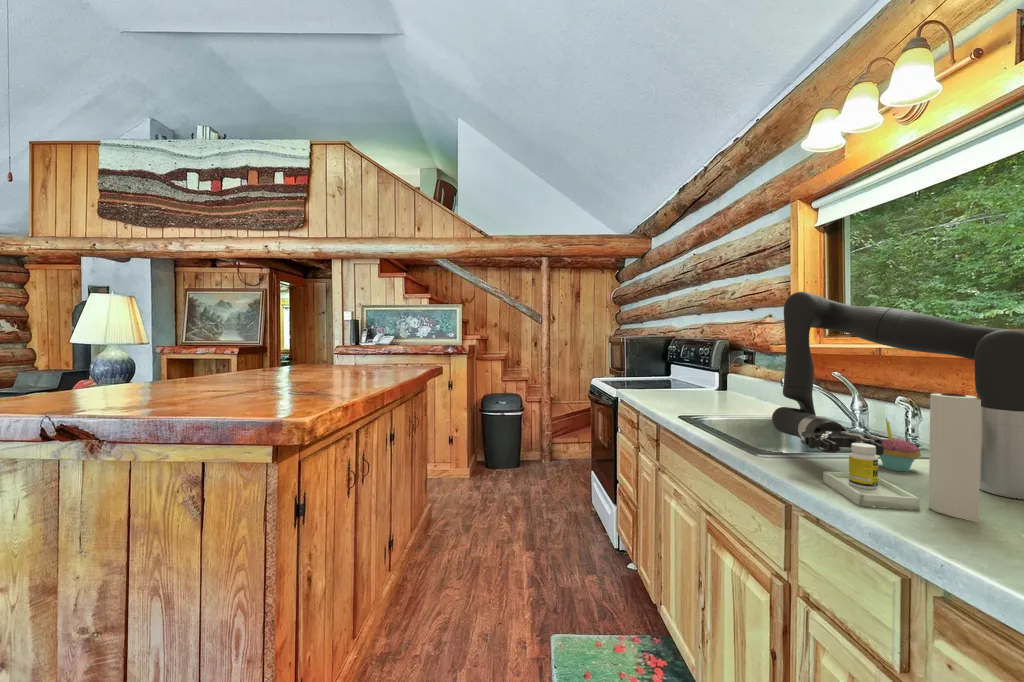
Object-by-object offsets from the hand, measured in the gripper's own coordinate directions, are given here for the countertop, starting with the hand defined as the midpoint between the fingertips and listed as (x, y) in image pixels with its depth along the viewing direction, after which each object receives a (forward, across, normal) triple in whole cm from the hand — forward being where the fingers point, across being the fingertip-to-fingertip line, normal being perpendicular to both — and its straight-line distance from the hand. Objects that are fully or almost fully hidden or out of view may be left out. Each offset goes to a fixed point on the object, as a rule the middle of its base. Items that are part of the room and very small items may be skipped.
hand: (857, 449), depth 95 cm
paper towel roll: (+12, +9, +8) cm, 17 cm away
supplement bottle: (+3, 0, +7) cm, 8 cm away
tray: (+4, 0, +8) cm, 9 cm away
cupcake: (-18, +17, +8) cm, 26 cm away
